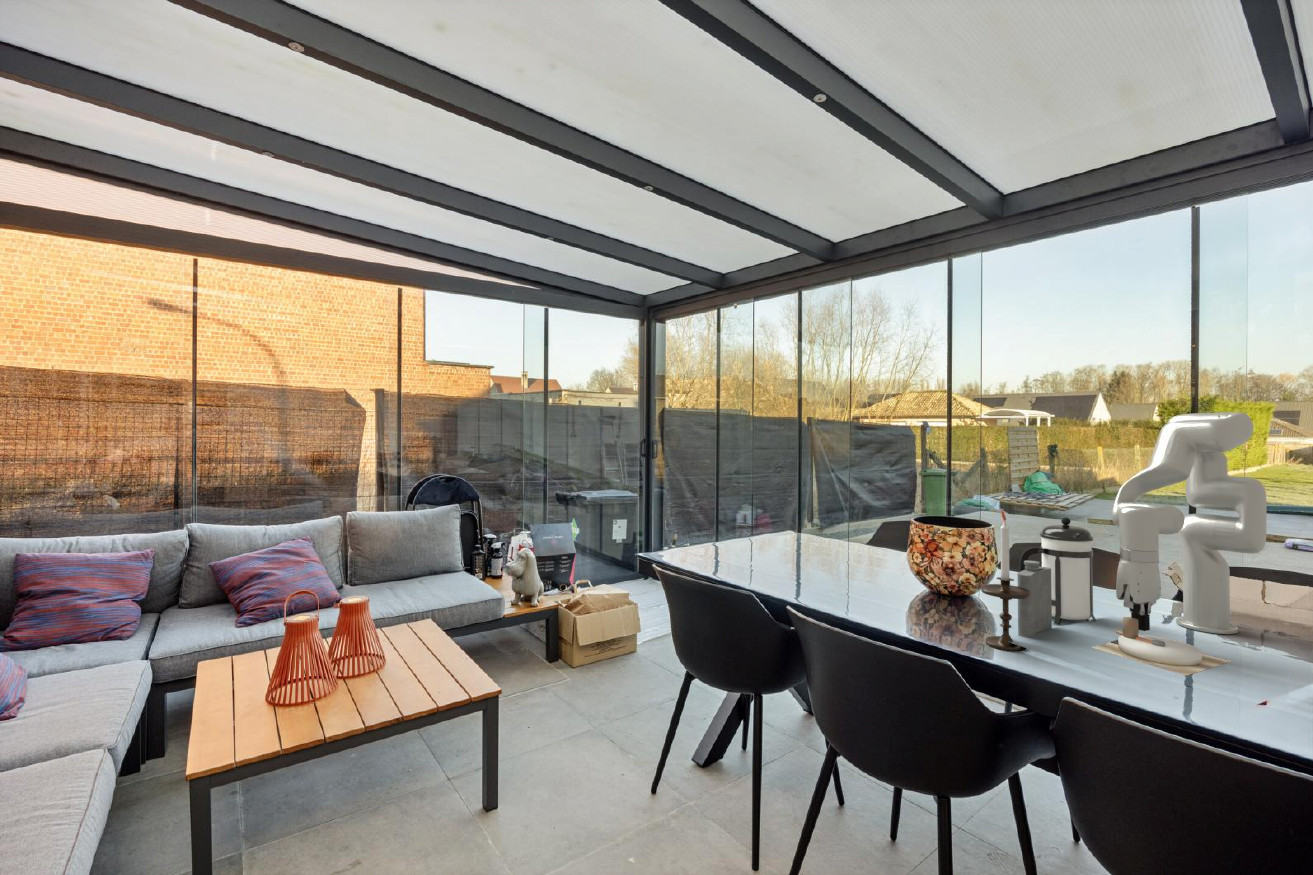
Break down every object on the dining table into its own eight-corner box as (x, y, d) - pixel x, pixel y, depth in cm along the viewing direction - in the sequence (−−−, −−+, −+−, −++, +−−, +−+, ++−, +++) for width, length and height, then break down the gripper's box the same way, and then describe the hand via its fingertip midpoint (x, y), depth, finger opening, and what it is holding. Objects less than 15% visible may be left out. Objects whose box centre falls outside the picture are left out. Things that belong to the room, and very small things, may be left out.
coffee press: (1048, 608, 181) (1046, 512, 181) (1108, 622, 167) (1107, 518, 167) (1018, 617, 172) (1017, 516, 172) (1079, 632, 158) (1078, 522, 158)
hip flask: (1029, 643, 150) (1028, 566, 150) (1012, 639, 153) (1011, 563, 154) (1053, 631, 160) (1052, 558, 160) (1037, 627, 163) (1036, 556, 163)
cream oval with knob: (1217, 660, 134) (1216, 631, 134) (1175, 669, 129) (1175, 639, 129) (1137, 637, 149) (1136, 612, 149) (1097, 644, 144) (1097, 618, 144)
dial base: (1135, 642, 151) (1135, 635, 151) (1231, 667, 133) (1231, 660, 133) (1091, 653, 143) (1090, 646, 143) (1186, 682, 126) (1186, 673, 126)
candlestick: (988, 650, 145) (986, 510, 145) (976, 636, 156) (975, 506, 156) (1037, 654, 142) (1036, 512, 143) (1022, 640, 153) (1021, 507, 153)
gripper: (1141, 550, 151) (1143, 621, 151) (1102, 555, 146) (1104, 628, 146) (1175, 556, 144) (1177, 629, 144) (1136, 561, 139) (1137, 638, 139)
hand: (1140, 628), depth 145 cm, fingers closed
